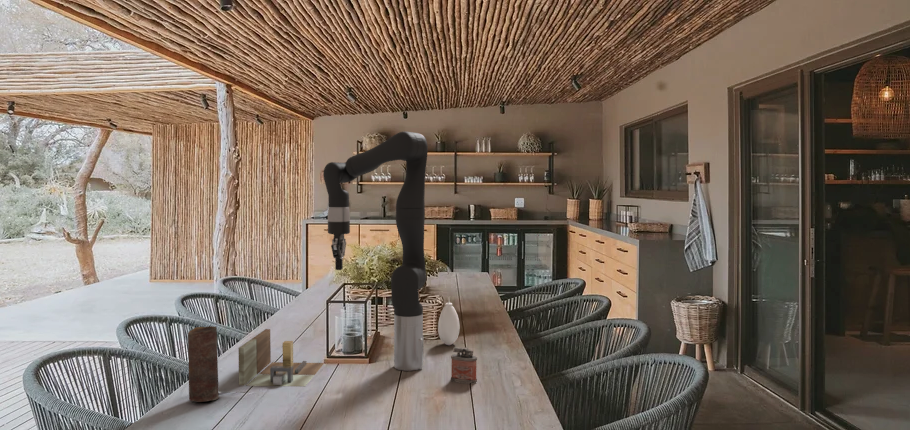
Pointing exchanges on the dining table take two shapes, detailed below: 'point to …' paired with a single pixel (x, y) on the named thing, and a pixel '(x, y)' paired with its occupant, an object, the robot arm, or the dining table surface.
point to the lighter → (463, 366)
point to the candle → (203, 364)
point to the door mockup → (259, 356)
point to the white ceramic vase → (448, 324)
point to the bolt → (284, 363)
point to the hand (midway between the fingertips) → (339, 269)
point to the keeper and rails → (286, 369)
